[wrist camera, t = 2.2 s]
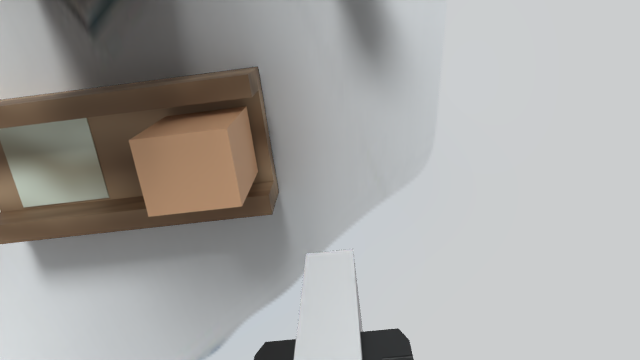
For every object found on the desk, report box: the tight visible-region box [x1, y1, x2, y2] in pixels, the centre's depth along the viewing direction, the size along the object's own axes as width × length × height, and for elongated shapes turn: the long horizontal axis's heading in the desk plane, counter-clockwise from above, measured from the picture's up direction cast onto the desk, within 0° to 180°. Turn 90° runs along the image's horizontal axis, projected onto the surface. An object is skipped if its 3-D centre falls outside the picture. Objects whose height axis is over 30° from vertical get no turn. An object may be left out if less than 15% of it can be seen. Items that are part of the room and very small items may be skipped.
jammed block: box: [129, 106, 258, 217], centre depth 33 cm, size 5×6×7 cm
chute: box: [0, 67, 279, 244], centre depth 37 cm, size 10×22×4 cm, turn 97°
